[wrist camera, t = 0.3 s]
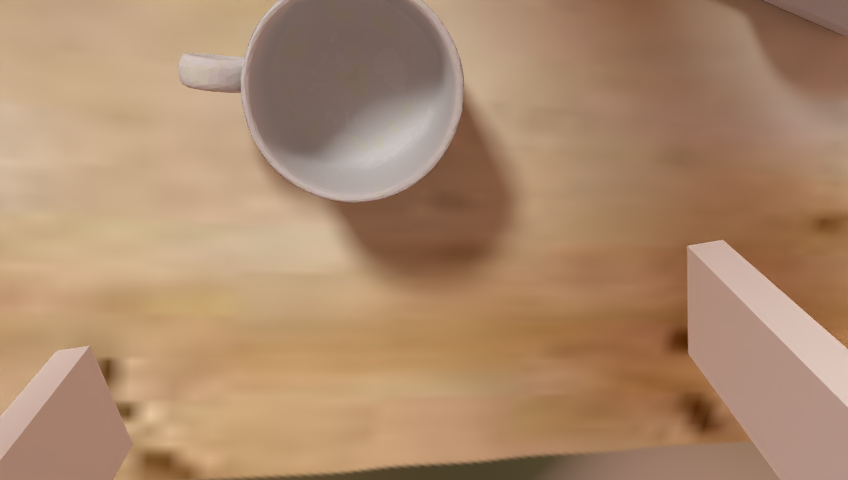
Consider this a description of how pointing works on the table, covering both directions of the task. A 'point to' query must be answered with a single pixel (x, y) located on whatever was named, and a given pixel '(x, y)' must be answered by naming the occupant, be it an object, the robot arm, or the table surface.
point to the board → (819, 12)
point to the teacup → (344, 93)
